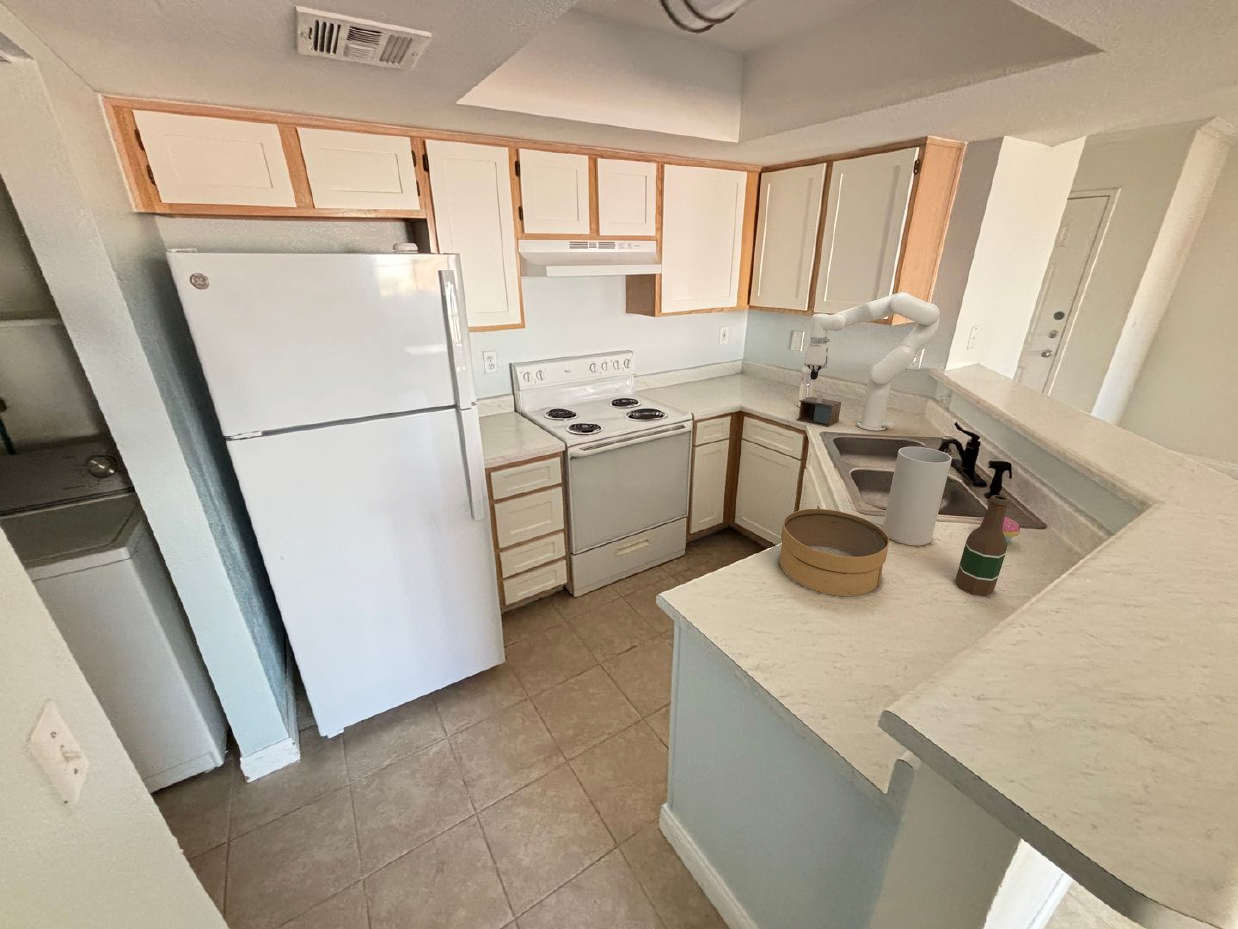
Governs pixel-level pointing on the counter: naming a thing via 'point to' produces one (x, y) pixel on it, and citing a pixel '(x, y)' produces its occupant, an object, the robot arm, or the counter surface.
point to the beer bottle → (984, 551)
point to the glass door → (822, 411)
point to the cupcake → (1010, 528)
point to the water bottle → (806, 385)
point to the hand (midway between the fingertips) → (813, 379)
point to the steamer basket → (832, 569)
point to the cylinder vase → (916, 495)
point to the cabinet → (809, 409)
